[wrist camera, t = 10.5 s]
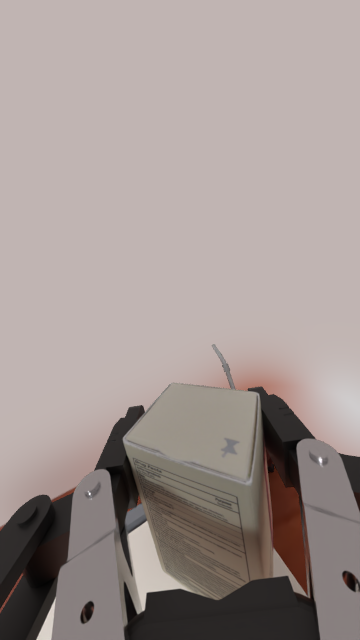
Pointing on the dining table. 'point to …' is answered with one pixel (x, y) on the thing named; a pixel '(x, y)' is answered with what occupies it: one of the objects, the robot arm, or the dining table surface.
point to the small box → (205, 486)
